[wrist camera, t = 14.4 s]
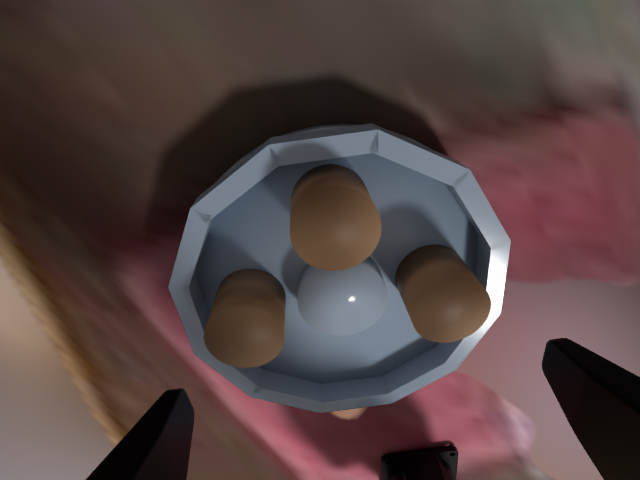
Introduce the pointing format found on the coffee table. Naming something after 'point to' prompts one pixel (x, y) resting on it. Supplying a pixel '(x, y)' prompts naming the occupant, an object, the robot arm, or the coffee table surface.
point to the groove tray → (343, 285)
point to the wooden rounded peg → (247, 319)
